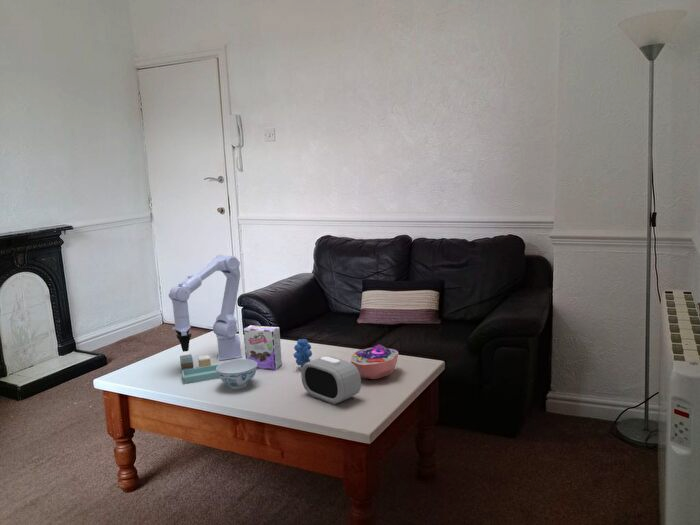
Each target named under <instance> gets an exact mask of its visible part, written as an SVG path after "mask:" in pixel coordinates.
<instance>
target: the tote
mask: <svg viewBox="0 0 700 525" xmlns="http://www.w3.org/2000/svg"><path fill="white" fill-rule="evenodd" d="M219 364H220V363H218V364H213V365H212V364H211V366H205V367H199V366H198V367H193V369H187V370H182V371H181V375H182V376H181V377H182V382H183V384H184V385H188V384H192V383H199V382H204V381H210V380H211V381H212V380H216V379H220V378H219V376H218V374H217V371H216V367H217V366H218V365H219Z"/></svg>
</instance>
